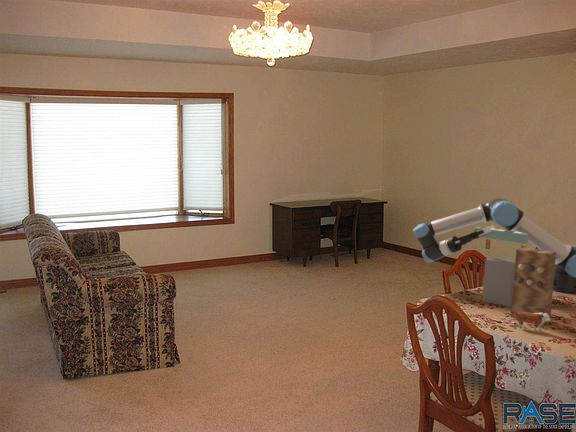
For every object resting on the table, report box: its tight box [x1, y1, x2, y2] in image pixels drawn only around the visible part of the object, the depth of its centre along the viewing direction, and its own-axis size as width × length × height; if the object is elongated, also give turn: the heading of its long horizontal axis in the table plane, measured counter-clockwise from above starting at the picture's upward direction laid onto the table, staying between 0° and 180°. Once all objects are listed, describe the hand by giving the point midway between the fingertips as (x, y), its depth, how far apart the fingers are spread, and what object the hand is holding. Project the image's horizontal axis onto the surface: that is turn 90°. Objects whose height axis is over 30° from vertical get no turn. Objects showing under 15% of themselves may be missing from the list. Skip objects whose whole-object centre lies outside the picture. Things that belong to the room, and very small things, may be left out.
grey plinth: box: [482, 256, 515, 308], centre depth 288 cm, size 13×8×20 cm, turn 48°
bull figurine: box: [515, 311, 551, 333], centre depth 250 cm, size 4×13×8 cm, turn 58°
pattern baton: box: [473, 226, 529, 244], centre depth 286 cm, size 24×4×4 cm, turn 48°
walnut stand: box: [510, 246, 556, 326], centre depth 262 cm, size 14×8×30 cm, turn 48°
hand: (492, 227), depth 288 cm, fingers closed on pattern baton, 4 cm apart
